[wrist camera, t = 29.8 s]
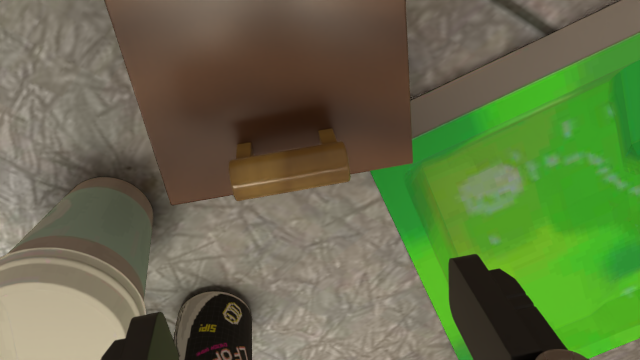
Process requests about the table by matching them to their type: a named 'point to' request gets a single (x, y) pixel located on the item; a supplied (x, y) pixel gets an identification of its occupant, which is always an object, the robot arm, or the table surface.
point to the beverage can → (214, 328)
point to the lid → (267, 91)
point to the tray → (535, 180)
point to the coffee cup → (77, 275)
